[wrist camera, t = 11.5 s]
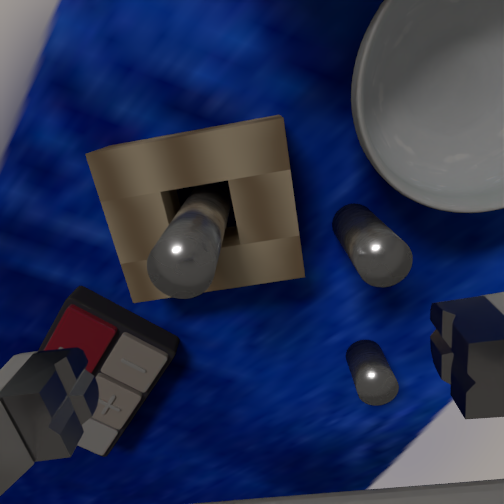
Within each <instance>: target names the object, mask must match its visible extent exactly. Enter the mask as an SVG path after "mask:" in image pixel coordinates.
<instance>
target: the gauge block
mask: <svg viewBox="0 0 504 504" xmlns="http://www.w3.org/2000/svg"><path fill="white" fill-rule="evenodd" d="M85 155H86V158H87V161H88V164H89V167H90V170H91V173H92V177H93V180H94V183H95V186H96V189H97V192H98V195H99V198H100V201H101V204H102V208H103V211H104V214H105V217H106V220H107V223H108V226H109V229H110V232H111V235H112V239H113V242H114V245H115V248H116V251H117V254H118V257H119V260H120V263H121V266H122V269H123V273H124V276H125V279H126V282H127V285H128V288H129V291H130V294H131V297H132V300H133V303H137V302H144V301H150V300H157V299H164V298H170V296H168V295H166V294H164V293H162V292H161V291H160V290H158V289H157V288H156V287H155V286H154V284H153V283H152V282H151V280H150V278H149V275H148V271H147V260H148V256H149V254H150V252H151V250H152V249H153V247H154V246H155V244H156V243H157V241H158V240H159V239H160V237H161V236H162V234H163V233H164V231H165V230H166V228H167V227H168V225H169V224H170V223H171V221H172V220H173V218H174V217H175V215H176V214H177V212H178V211H179V210H180V208H181V205H180V201H179V197H178V193H177V189H180V188H186V187H192V186H197V185H203V184H209V183H215V182H221V181H226V180H228V183H229V188H230V193H231V199H232V204H233V209H234V214H235V219H236V224H237V226H233V227H227V228H226V229H225V233H224V237H223V241H222V246H221V250H220V254H219V258H218V262H217V266H216V270H215V275H214V278H213V281H212V283H211V285H210V286H209V288H208V289H207V290H206V291H205V292H210V291H216V290H223V289H230V288H236V287H243V286H250V285H256V284H263V283H269V282H276V281H283V280H289V279H296V278H303V277H305V272H304V265H303V257H302V250H301V243H300V236H299V228H298V221H297V214H296V207H295V199H294V192H293V185H292V178H291V170H290V163H289V156H288V148H287V141H286V134H285V127H284V119H283V117H282V116H280V115H275V116H270V117H264V118H259V119H253V120H248V121H242V122H237V123H231V124H226V125H221V126H215V127H210V128H204V129H199V130H193V131H188V132H182V133H177V134H171V135H166V136H160V137H155V138H150V139H144V140H139V141H133V142H128V143H122V144H117V145H111V146H108V147H105V148H102V149H99V150H96V151H93V152H90V153H87V154H85Z"/></svg>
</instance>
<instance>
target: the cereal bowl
mask: <svg viewBox="0 0 504 504" xmlns="http://www.w3.org/2000/svg"><path fill="white" fill-rule="evenodd" d="M351 88H352V89H351V104H352V115H353V120H354V125H355V130H356V133H357V136H358V139H359V142H360V145H361V146H362V148H363V151H364V152H365V154H366V157H367V158H368V159H369V161H370V162H371V164H372V165H373V167H374V168H375V169H376V171H377V172H378V173H379V174H380V175H381V176H382V178H383V179H384V180H386V181H387V183H388V184H389V185H391V186H392V187H393V188H394V189H395V190H397V191H398V192H400V193H401V194H403V195H404V196H406V197H408V198H410V199H412V200H413V201H415V202H417V203H420V204H422V205H425V206H427V207H431V208H434V209H438V210H443V211H449V212H457V213H478V212H486V211H493V210H498V209H502V208H504V0H384V1H383V2H382V3H381V5H380V6H379V9H378V10H377V12H376V13H375V15H374V17H373V19H372V20H371V22H370V25H369V26H368V28H367V30H366V33H365V34H364V37H363V40H362V42H361V44H360V48H359V50H358V55H357V57H356V62H355V66H354V73H353V76H352V85H351Z"/></svg>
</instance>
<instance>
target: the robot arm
mask: <svg viewBox="0 0 504 504" xmlns="http://www.w3.org/2000/svg"><path fill="white" fill-rule="evenodd" d="M430 320H431V322H432V323H433V325H434V326H435V328H436V330H435V331H434V332H433V334H432V335H431V336H430V346H431V354H432V358H433V363H434V365H435V368H436V370H437V372H438V374H439V376H440V377H441V379H442V380H444V381H446V382H447V383H449V384H451V396H452V398H453V400H454V401H455V403H456V405H457V406H458V408H459V410H460V411H461V413H462V414H463V416H464V418H465V419H476V418H490V417H504V292H501V293H495V294H488V295H482V296H477V297H470V298H464V299H457V300H450V301H443V302H437V303H432V305H431V309H430ZM87 364H88V359H87V357H86V355H85V353H84V351H83V350H82V349H80V348H78V347H74V348H64V349H55V350H45V351H39V352H38V351H35V352H28V353H21V354H18V355H14V356H13V357H12V358H11V359H10V360H9V361H8V362H7V363H6V364H5V366H4V367H3V368H2V369H1V370H0V496H1V495H2V494H3V493H4V492H5V491H6V490H7V489H8V488H9V487H10V486H11V485H12V484H13V483H14V482H15V481H16V480H18V479H19V478H20V477H21V476H22V475H23V474H24V473H25V472H26V471H27V470H28V469H29V468H30V467H31V466H32V465H33V464H34V462H35V461H43V460H51V459H59V458H67V457H71V455H72V454H73V452H74V450H75V448H76V446H77V444H78V442H79V441H80V439H81V437H82V435H83V433H84V430H83V427H82V424H84V423H85V422H86V421H87V420H89V419H90V418H91V417H92V416H93V414H94V412H95V410H96V408H97V405H98V399H99V389H98V384H97V381H96V378H95V376H94V375H92V374H91V373H90V372H88V371H87V370H86V367H87ZM195 504H504V479H497V480H484V481H473V482H460V483H448V484H435V485H422V486H411V487H410V486H409V487H396V488H384V489H371V490H358V491H345V492H332V493H319V494H307V495H294V496H281V497H269V498H256V499H244V500H232V501H219V502H207V503H195Z"/></svg>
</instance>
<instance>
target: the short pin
mask: <svg viewBox="0 0 504 504" xmlns="http://www.w3.org/2000/svg"><path fill="white" fill-rule="evenodd" d="M346 360H347V363H348V366H349V369H350V372H351V375H352V378H353V381H354V384H355V387H356V390H357V393H358V396H359V398H360V399H361V400H362V401H363V402H365V403H366V404H369V405H383V404H386V403H388V402H390V401H391V400H393V399H394V398H395V396H396V395H397V393H398V389H399V386H398V382H397V380H396V378H395V376H394V374H393V372H392V370H391V368H390V366H389V364H388V362H387V360H386V358H385V356H384V354H383V352H382V350H381V348H380V346H379V345H378V344H377V343H376V342H374V341H371V340H360V341H357V342H355V343H353V344H352V345H351V346H350V347H349V348H348V350H347V352H346Z"/></svg>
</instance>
